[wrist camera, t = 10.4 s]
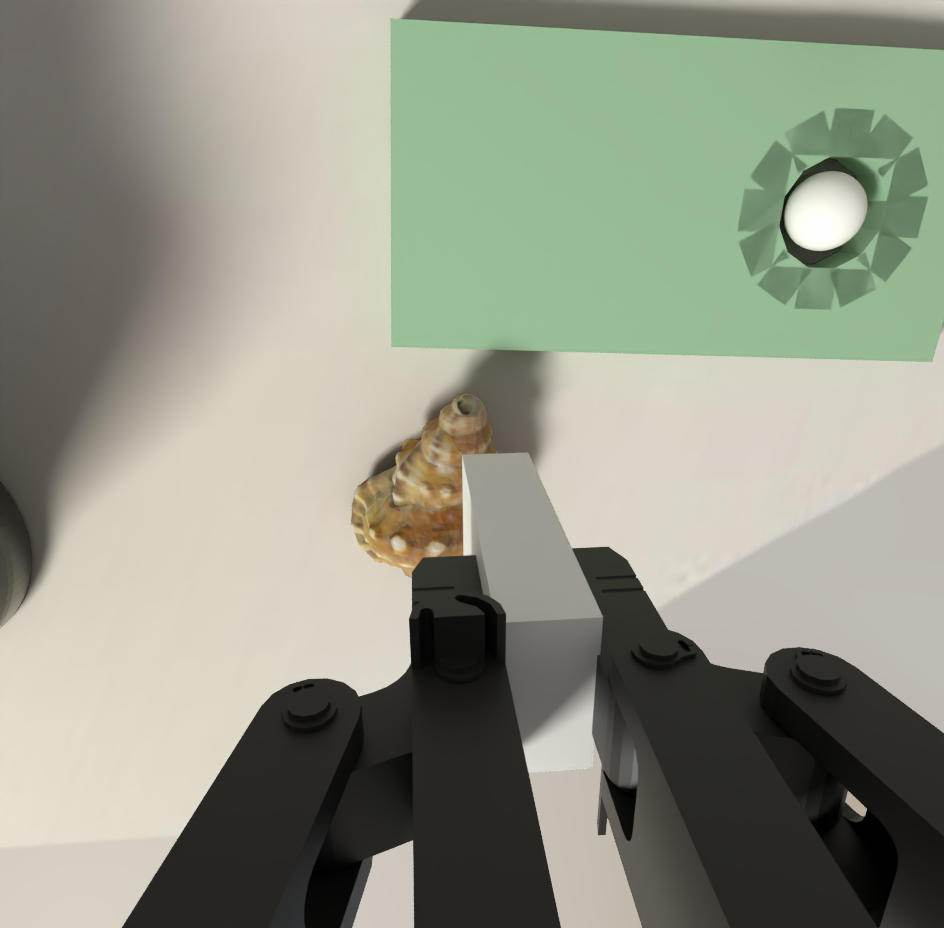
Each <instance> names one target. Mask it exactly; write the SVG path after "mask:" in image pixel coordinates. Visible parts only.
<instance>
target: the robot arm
mask: <svg viewBox="0 0 944 928" xmlns="http://www.w3.org/2000/svg"><path fill="white" fill-rule="evenodd" d="M462 484H463V556H444V557H423V558H422V559H421V561H420V562H419V563H418V565H417V566H416V567H415V569H414V570H413V571H412V612H411V615H410V618H409V626H410V648H411V664H410V666H409V668H408V670H407V671H406V673H405V674H404V675H403V676H402V677H401V678H399V679H398V680H397V681H396V682H394V683H392V684H391V685H389V686H388V687H386V688H383V689H381V690H378V691H376V692H373V693H370V694H366V695H363V696H360V697H358V695H357V693H356V691H355V690H353V689H352V688H351V687H349V686H348V685H346V684H345V683H343V682H339V681H335V680H331V679H307V680H304V681H300V682H296V683H293V684H289V685H288V686H286V687H284V688H282V689H281V690H279V691H277V692H275V693H274V694H272V695H271V696H270V698H269V699H268V700H267V701H266V702H265V703H264V704H263V705H262V706H261V708H260V709H259V711H258V712H257V714H256V715H255V717H254V719H253V720H252V722H251V723H250V725H249V727H248V728H247V730H246V731H245V733H244V735H243V736H242V738H241V739H240V741H239V742H238V744H237V746H236V747H235V749H234V750H233V752H232V754H231V755H230V757H229V758H228V760H227V762H226V763H225V765H224V766H223V768H222V769H221V771H220V773H219V774H218V776H217V777H216V779H215V781H214V782H213V784H212V785H211V787H210V789H209V790H208V792H207V793H206V795H205V796H204V798H203V800H202V801H201V803H200V804H199V806H198V808H197V809H196V811H195V812H194V814H193V816H192V817H191V819H190V820H189V822H188V823H187V825H186V827H185V828H184V830H183V831H182V833H181V835H180V836H179V838H178V839H177V841H176V843H175V844H174V846H173V847H172V849H171V850H170V852H169V854H168V855H167V857H166V858H165V860H164V862H163V863H162V865H161V866H160V868H159V870H158V871H157V873H156V874H155V876H154V877H153V879H152V881H151V882H150V884H149V885H148V887H147V889H146V890H145V892H144V893H143V895H142V897H141V898H140V900H139V901H138V903H137V905H136V906H135V908H134V910H133V911H132V913H131V914H130V916H129V917H128V919H127V920H126V922H125V924H124V925H123V927H122V928H352V926H353V923H354V920H355V917H356V913H357V910H358V907H359V904H360V901H361V898H362V895H363V891H364V888H365V885H366V882H367V879H368V876H369V873H370V869H371V866H372V857H373V856H374V855H376V854H379V853H381V852H384V851H386V850H389V849H392V848H394V847H397V846H399V845H402V844H404V843H406V842H409V841H412V840H413V854H414V928H561V926H560V921H559V917H558V912H557V907H556V903H555V898H554V893H553V888H552V883H551V878H550V874H549V870H548V864H547V860H546V855H545V850H544V845H543V840H542V835H541V831H540V826H539V821H538V816H537V812H536V807H535V802H534V798H533V792H532V788H531V783H530V778H529V773H533V772H547V771H561V770H575V769H589V768H592V761H593V748H594V742H595V745H596V748H597V751H598V754H599V756H600V759H601V763H602V769H601V782H600V794H599V808H598V820H597V824H598V835H605V834H606V823H607V818H608V820H609V822H610V826H611V829H612V832H613V835H614V839H615V842H616V845H617V848H618V851H619V855H620V858H621V861H622V864H623V867H624V870H625V874H626V876H627V880H628V883H629V886H630V890H631V893H632V896H633V899H634V902H635V906H636V909H637V912H638V915H639V918H640V921H641V925H642V928H944V733H943V732H941V731H940V730H939V729H937V728H936V727H935V726H933V725H932V724H931V723H929V722H928V721H927V720H925V719H924V718H923V717H921V716H920V715H919V714H917V713H916V712H915V711H913V710H912V709H911V708H909V707H908V706H906V705H905V704H904V703H903V702H901V701H900V700H899V699H897V698H896V697H895V696H893V695H892V694H891V693H889V692H888V691H887V690H886V689H884V688H883V687H882V686H880V685H879V684H878V683H876V682H875V681H873V680H872V679H871V678H869V677H868V676H867V675H866V674H864V673H863V672H862V671H860V670H859V669H858V668H856V667H855V666H853V665H851V664H850V663H848V662H846V661H845V660H843V659H841V658H839V657H837V656H834V655H832V654H829V653H826V652H823V651H820V650H815V649H809V648H800V647H797V648H786V649H781V650H779V651H777V652H775V653H772V654H771V655H770V656H769V658H768V659H767V661H766V663H765V667H764V672H763V673H757V672H751V671H745V670H738V669H732V668H726V667H722V666H717V665H714V664H711V663H710V662H709V660H708V659H707V657H706V656H705V654H704V653H703V651H702V650H701V649H700V648H699V647H698V646H697V645H696V644H695V643H694V642H693V641H692V640H690V639H688V638H687V637H685V636H683V635H681V634H679V633H677V632H673V631H670V630H668V629H667V627H666V625H665V624H664V622H663V620H662V619H661V617H660V615H659V614H658V612H657V610H656V608H655V607H654V605H653V603H652V602H651V600H650V598H649V597H648V595H647V593H646V592H645V591H643V586H642V585H641V583H640V581H639V580H638V578H636V575H635V573H634V571H633V569H632V568H631V566H630V564H629V563H628V561H627V560H626V559H625V558H624V557H622V556H621V555H619V554H618V553H616V552H615V551H613V550H612V549H611V548H609V547H594V548H571V546H570V543H569V541H568V539H567V537H566V535H565V532H564V530H563V528H562V526H561V524H560V521H559V519H558V517H557V515H556V513H555V510H554V508H553V506H552V504H551V502H550V499H549V497H548V495H547V493H546V491H545V488H544V486H543V484H542V482H541V480H540V477H539V475H538V473H537V471H536V469H535V466H534V464H533V462H532V460H531V458H530V455H529V453H528V452H524V453H497V454H469V455H462ZM30 574H31V550H30V544H29V539H28V535H27V532H26V529H25V526H24V523H23V521H22V518H21V516H20V514H19V512H18V510H17V508H16V506H15V504H14V503H13V501H12V499H11V498H10V496H9V495H8V493H7V492H6V491H5V489H4V488H3V486H2V485H1V484H0V628H1V627H2V626H3V625H4V624H5V623H6V622H7V621H8V620H9V619H10V618H11V617H12V616H13V615H14V613H15V612H16V610H17V609H18V607H19V606H20V604H21V602H22V600H23V598H24V596H25V594H26V591H27V588H28V585H29V580H30ZM848 791H849V792H850V793H851V794H853V796H855V797H856V798H857V799H858V800H859V801H860V802H861V803H862V804H863V805H864V806H865V807H866V808H867V812H866V815H865V817H863V816H860V815H859V814H858V813H856V812H855V811H854V810H853V809H852V808H851V807H850V806H849V805H847V804H846V803H845V800H846V796H847V792H848Z"/></svg>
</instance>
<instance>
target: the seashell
mask: <svg viewBox="0 0 944 928" xmlns="http://www.w3.org/2000/svg"><path fill="white" fill-rule="evenodd" d="M487 417H488V414H487V409H486V407H485V405H484V404H483V402H482V401H481V399H480V398H478V397H476V396H474V395H472V394H470V393H463V394H460V395H458V396H456V397H455V398H454V399H453V402H451V403H449V404H447V405H445V406H444V407H443V408H442V409H441V411H440V416H439V417H436V418H435V419H432V420H430V421H428V422H427V424H426V426H425V427H424V428H423V432H422V437H421V440H415V439H408V440H406V441H404V443H403V445H402V451H401V452H398V453H397V455H396V457H395V460H396V465H395V466H394V467H392V468H390V469H388V470H386V471H383V472H381V473H379V474H377V475H375V476H372V477H370V478H369V479H367V480H366V481H364V482H363V483H362V484H361V485H359V486H358V487H357V489H356V490H355V492H354V500H353V503H352V519H351V528H352V530H353V531H354V532H355V535H356V537H357V540H358V544H359V546H360V547H361V548H362V549H363V550H364V551H366V552H367V553H368V554H369V555H370V556H371V557H372V558H373V559H374V560H375V561H376V562H379V563H380V562H383V563H387V564H390V565H391V566H396V567H399V568H402V570H403V572H404V573H405V575H406V576H408V577H411V578H412V571H413V570H414V569H415V567H416V566H417V565H418V563H419V562H420V561H421V559H422V558H423V557H444V556H463V484H462V455H469V454H497V450H496V449H495V447H494V446H493V445H492V443H491V436H492V434H493V431H492V427H491V424H490V423H489V421H488V420H487Z"/></svg>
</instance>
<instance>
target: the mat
mask: <svg viewBox="0 0 944 928" xmlns="http://www.w3.org/2000/svg"><path fill="white" fill-rule="evenodd" d="M825 159H836V160H837V161H838V162H840V163H841V164H842V165H843V166H845V167H846V168H847V169H848V170H850V171H851V172H852V173H853V174H854V175H855V176H856V180H857V181H858V182H859V183H860V184H861V186H862V187H863V189H864V191H865V193H866V196H867V202H868V207H867V214H866V217H865V220H864V222H863V224H862V226H861V228H860V229H859V231H858V232H857V233H856V234H855V235H854V236H853V237H852V238H851V239H850V240H849V241H847V242H846V243H845V244H844V245H843V246H842V248H841V249H840V250H839V251H838V252H837V253H835V254H833V255H831V256H829V257H827V258H825V259H823V260H821V261H819V262H817V263H815V264H803V263H801V262H800V261H799V260H797V259H796V258H795V257H793V256H792V255H791V254H789V253H788V252H787V249H786V246H785V243H784V240H783V237H782V234H781V231H780V228H779V225H780V219H781V214H782V209H783V203H784V198H785V196H786V194H787V193H788V192H789V190H790V189H791V187H792V186H793V185H794V183H795V182H796V181H797V179H798V178H799V176H800V175H801V174H802V172H803V171H804V170H806V169H808V168H810V167H812V166H813V165H815V164H817V163H819V162H821V161H823V160H825ZM943 322H944V50H934V49H917V48H899V47H882V46H864V45H847V44H829V43H812V42H794V41H777V40H759V39H742V38H724V37H707V36H689V35H672V34H654V33H637V32H619V31H602V30H584V29H567V28H549V27H532V26H515V25H497V24H480V23H462V22H445V21H427V20H410V19H392V18H391V347H417V348H453V349H488V350H524V351H560V352H595V353H631V354H666V355H702V356H738V357H773V358H809V359H845V360H880V361H916V362H932V361H933V357H934V354H935V350H936V346H937V343H938V339H939V336H940V332H941V329H942V325H943Z"/></svg>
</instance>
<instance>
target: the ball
mask: <svg viewBox="0 0 944 928" xmlns="http://www.w3.org/2000/svg"><path fill="white" fill-rule="evenodd" d="M867 207H868V202H867V196H866V193H865V191H864V189H863V187H862V186H861V184H860V183H859V182H858V181H857V180H856V179H855V178H854V177H852V176H850V175H848V174H846V173H843V172H838V171H826V172H821V173H817V174H815V175H812V176H810V177H809V178H807V179H805V180H804V181H802V182H801V183H800V184H799V185H798V186H797V187H796V188H795V189H794V190H793V192H792V193H791V194H790V196H789V198H788V200H787V202H786V205H785V209H784V225H785V229H786V231H787V233H788V235H789V236H790V238H791V239H792V240H793V241H794V242H795V243H796V244H798V245H799V246H801V247H803V248H806V249H809V250H814V251H824V250H830V249H833V248H836V247H839V246H841V245H843V244H844V243H846V242H847V241H849V240H850V239H851V238H852V237H853V236H854V235H855V234H856V233H857V232H858V231H859V229H860V228H861V226H862V224H863V222H864V220H865V217H866V214H867Z"/></svg>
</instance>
